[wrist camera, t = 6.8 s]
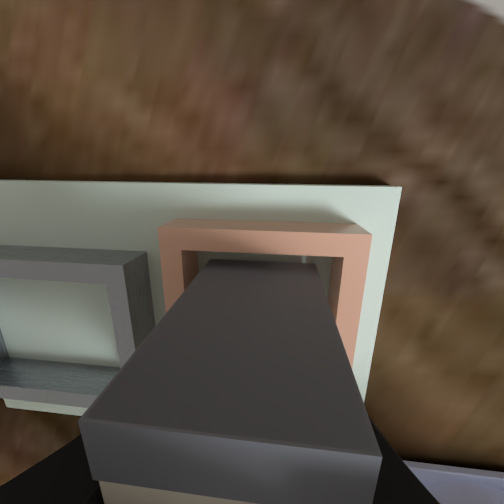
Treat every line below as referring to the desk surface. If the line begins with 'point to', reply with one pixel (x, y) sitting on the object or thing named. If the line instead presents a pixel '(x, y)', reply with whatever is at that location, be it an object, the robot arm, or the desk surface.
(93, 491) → the robot arm
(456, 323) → the desk surface
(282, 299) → the banded block
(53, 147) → the desk surface
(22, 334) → the seat board
